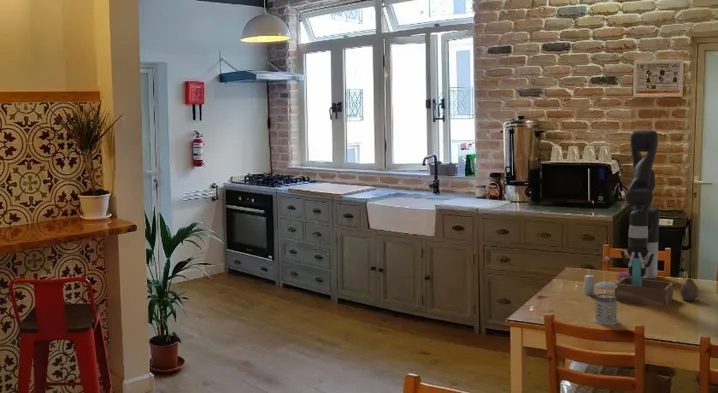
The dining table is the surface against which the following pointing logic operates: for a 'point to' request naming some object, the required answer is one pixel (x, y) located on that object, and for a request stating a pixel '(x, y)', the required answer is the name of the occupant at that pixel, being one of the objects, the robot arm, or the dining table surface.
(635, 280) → the teal peg
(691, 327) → the dining table surface
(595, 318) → the french press
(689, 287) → the vase
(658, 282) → the peg box
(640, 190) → the robot arm
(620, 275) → the cupcake
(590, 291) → the grey peg
